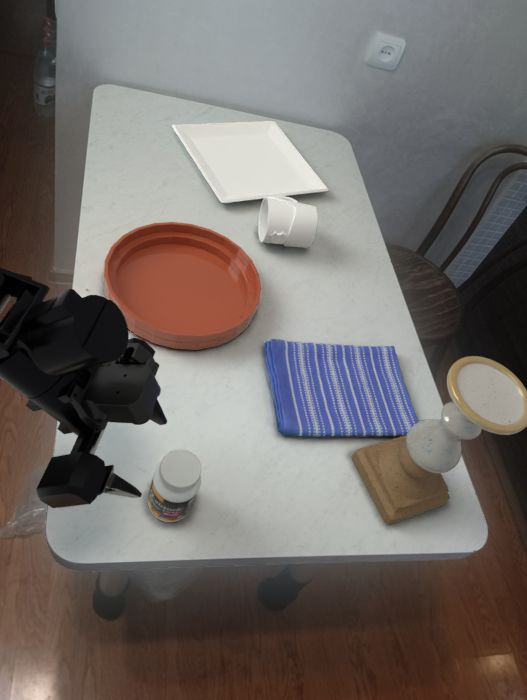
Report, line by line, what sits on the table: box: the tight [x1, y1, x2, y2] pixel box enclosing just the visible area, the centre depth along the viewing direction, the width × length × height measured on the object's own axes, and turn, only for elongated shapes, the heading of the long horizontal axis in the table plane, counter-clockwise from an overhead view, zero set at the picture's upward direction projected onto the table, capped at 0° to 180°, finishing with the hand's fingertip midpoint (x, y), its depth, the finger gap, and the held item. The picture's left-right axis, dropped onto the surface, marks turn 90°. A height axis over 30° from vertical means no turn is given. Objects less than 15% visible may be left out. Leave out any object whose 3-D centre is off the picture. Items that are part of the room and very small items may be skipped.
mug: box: [257, 196, 319, 249], centre depth 102 cm, size 12×9×8 cm
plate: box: [171, 120, 330, 204], centre depth 116 cm, size 26×26×2 cm
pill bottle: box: [147, 448, 202, 523], centre depth 64 cm, size 6×6×10 cm
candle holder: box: [351, 355, 527, 525], centre depth 69 cm, size 11×11×24 cm
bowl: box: [103, 221, 263, 351], centre depth 89 cm, size 25×25×4 cm
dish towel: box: [263, 337, 419, 438], centre depth 85 cm, size 17×24×3 cm
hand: (152, 458), depth 60 cm, fingers open, 9 cm apart
